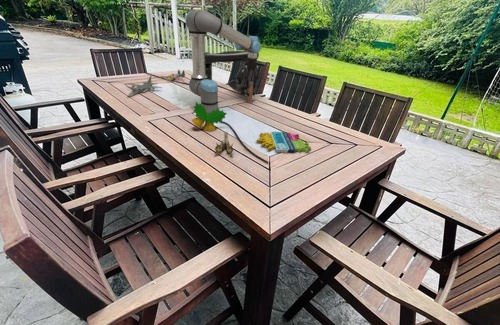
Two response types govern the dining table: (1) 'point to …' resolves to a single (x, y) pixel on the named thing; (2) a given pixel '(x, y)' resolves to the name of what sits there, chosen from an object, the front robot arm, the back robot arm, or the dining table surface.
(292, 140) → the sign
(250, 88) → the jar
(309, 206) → the dining table surface
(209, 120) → the ornament
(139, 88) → the airplane
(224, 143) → the jawbone
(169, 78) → the toy
